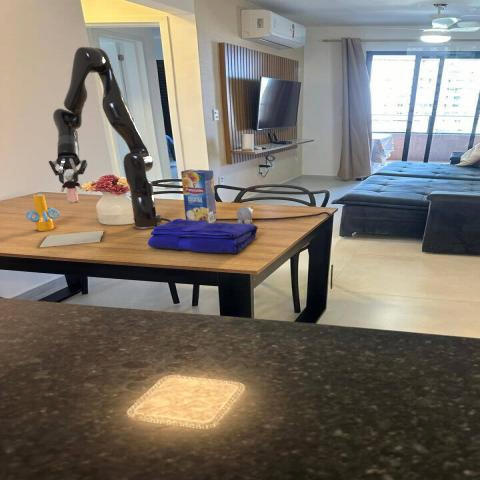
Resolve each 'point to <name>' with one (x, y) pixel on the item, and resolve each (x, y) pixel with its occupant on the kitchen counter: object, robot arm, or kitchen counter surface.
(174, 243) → the towel
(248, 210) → the round bodied animal figurine
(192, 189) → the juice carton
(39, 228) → the yellow cone toy
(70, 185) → the grandmother figurine
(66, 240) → the cloth
